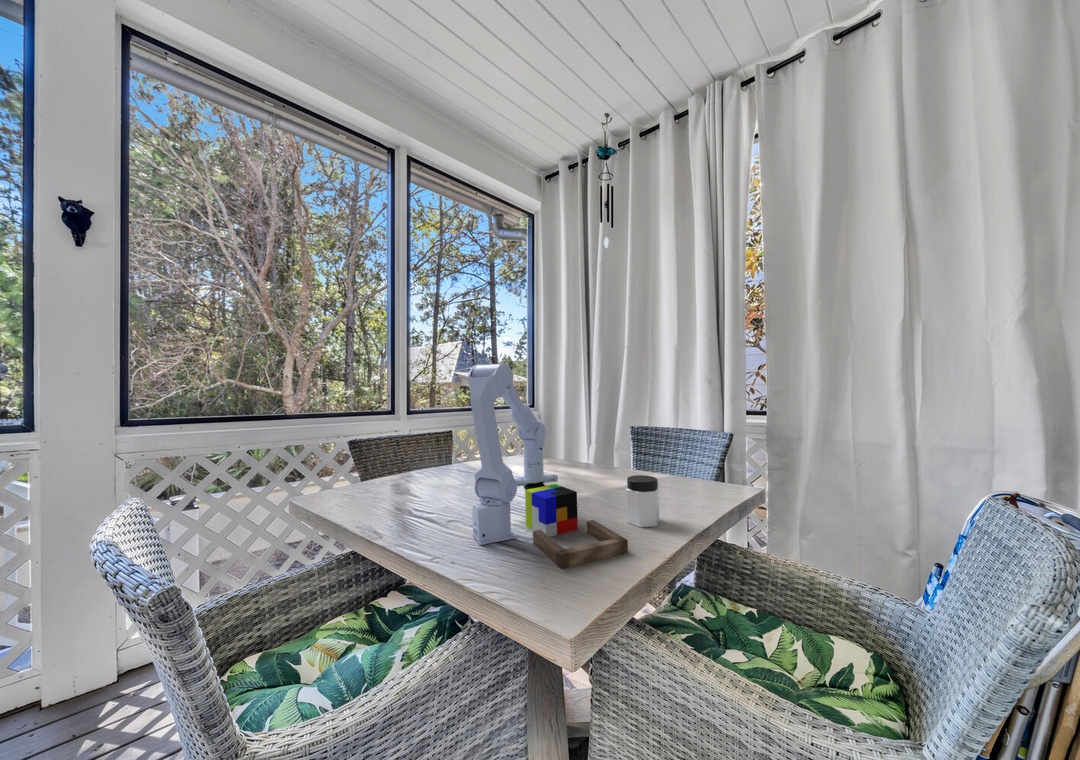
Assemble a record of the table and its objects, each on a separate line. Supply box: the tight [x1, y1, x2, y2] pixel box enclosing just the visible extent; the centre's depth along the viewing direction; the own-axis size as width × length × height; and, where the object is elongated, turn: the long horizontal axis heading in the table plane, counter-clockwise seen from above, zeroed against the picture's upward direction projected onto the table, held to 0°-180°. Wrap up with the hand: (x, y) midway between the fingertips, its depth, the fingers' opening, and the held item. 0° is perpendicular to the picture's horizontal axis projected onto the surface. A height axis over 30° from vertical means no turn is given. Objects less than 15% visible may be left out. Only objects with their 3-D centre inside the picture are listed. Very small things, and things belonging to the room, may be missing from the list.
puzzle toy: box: [524, 483, 579, 538], centre depth 110 cm, size 10×10×10 cm
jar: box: [625, 474, 660, 528], centre depth 112 cm, size 9×8×12 cm
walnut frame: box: [532, 519, 629, 570], centre depth 96 cm, size 17×15×3 cm
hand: (534, 508), depth 121 cm, fingers closed
